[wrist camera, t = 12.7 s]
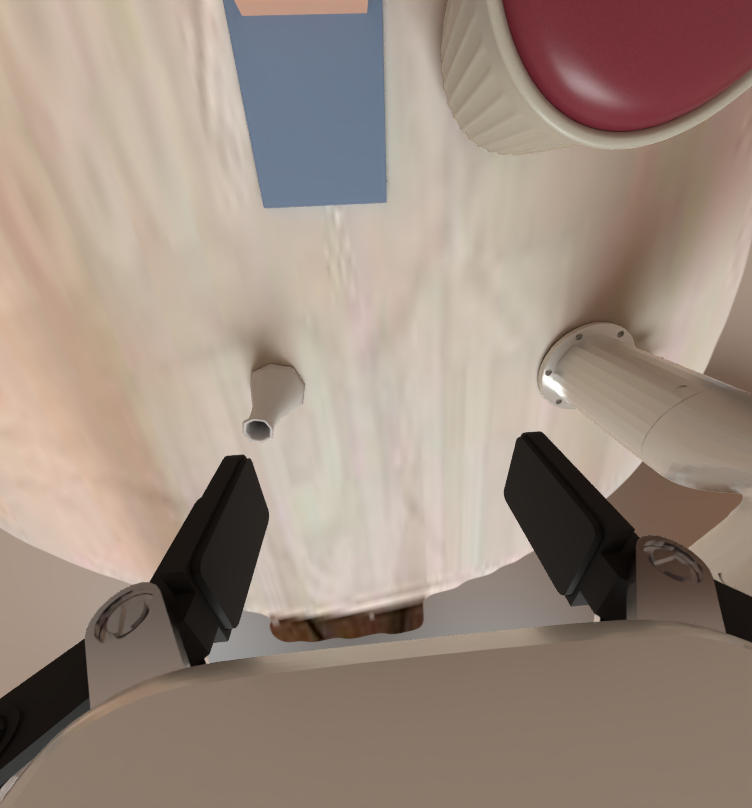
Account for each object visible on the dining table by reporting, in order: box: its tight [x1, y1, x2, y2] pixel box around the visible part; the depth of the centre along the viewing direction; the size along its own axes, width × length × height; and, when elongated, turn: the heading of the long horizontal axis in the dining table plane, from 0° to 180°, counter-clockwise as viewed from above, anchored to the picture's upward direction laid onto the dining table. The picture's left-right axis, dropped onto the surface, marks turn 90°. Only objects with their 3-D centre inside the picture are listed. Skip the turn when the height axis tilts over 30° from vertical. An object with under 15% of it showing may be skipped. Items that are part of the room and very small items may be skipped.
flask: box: [243, 364, 305, 443], centre depth 35 cm, size 7×7×10 cm
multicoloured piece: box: [223, 0, 387, 208], centre depth 22 cm, size 12×22×5 cm, turn 3°
